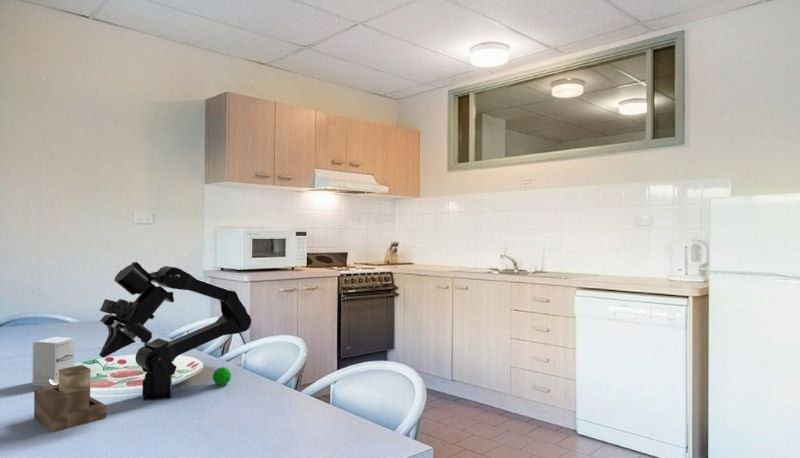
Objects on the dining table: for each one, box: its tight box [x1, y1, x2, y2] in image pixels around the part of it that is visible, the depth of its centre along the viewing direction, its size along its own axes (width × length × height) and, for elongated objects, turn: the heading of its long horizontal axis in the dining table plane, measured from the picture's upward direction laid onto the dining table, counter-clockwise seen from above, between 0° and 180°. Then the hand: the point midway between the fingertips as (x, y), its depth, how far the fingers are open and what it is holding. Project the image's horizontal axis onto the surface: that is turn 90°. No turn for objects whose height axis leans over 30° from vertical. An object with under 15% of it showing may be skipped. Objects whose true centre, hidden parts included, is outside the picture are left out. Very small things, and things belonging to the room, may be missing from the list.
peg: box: [59, 364, 91, 398], centre depth 125 cm, size 5×5×7 cm
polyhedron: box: [212, 367, 232, 387], centre depth 151 cm, size 5×5×5 cm
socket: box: [33, 384, 107, 433], centre depth 125 cm, size 11×12×7 cm
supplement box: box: [32, 336, 75, 388], centre depth 151 cm, size 7×7×13 cm
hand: (101, 356), depth 130 cm, fingers closed
